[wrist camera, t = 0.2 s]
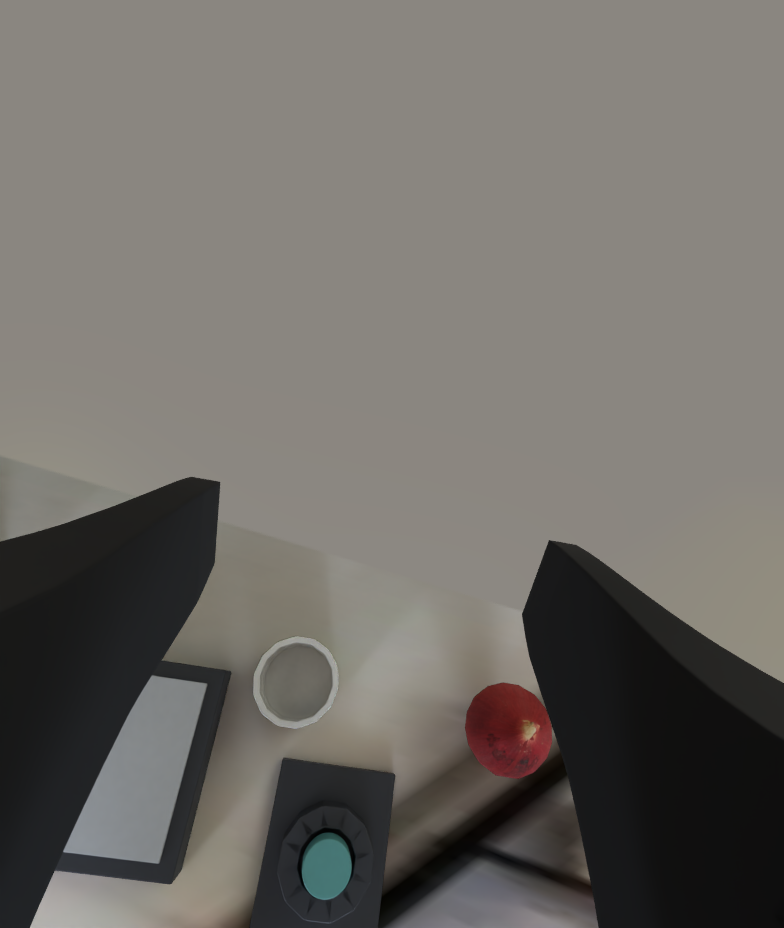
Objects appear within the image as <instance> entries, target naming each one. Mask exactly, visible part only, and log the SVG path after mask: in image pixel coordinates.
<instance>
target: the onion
mask: <svg viewBox="0 0 784 928" xmlns="http://www.w3.org/2000/svg"><path fill="white" fill-rule="evenodd" d="M465 730H466V735H467V740H468V745H469V746H470V748H471V750H472V751H473V753H474V755H475V757H476V758H477V760H478V761H479V762H480V763H481V764H482V765H483V766H484V767H486V768H487V769H488V770H490V771H491V772H492V773H493V774H495V775H497V776H503V777H509V778H517V779H519V778H521V777H523V776H526V775H528V774H531V773H533V772H535V771H536V770H537V769H538V768H539V766H540V765H541V764H542V763H543V762H544V761H545V759H546V758H547V756H548V753H549V750H550V747H551V744H552V730H551V723H550V720H549V717H548V713H547V710H546V709H545V707H544V706H543V705H542V703H541V702H540V701H539V700H538V698H537V697H536V696H535V695H534V694H532V693H531V692H529V691H527V690H526V689H524V688H522V687H521V686H519V685H514V684H508V683H499V684H495V685H491V686H487V687H486V688H485V689H484V690H482V691H481V692H480V693H479V694H478V695H476V696H475V697H474V698H473V700H472V703H471V705H470V707H469V709H468V711H467V715H466V724H465Z"/></svg>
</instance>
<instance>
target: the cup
mask: <svg viewBox="0 0 784 928" xmlns="http://www.w3.org/2000/svg"><path fill="white" fill-rule="evenodd" d="M338 688H339V679H338V666H337V664H336V662H335V660H334V658H333V656H332V654H331V652H330V650H329V649H328V648H326V647H325V646H323V645H322V644H321V643H319V642H318V641H317V640H315V639H312V638H306V637H300V636H294V637H291V638H288V639H285V640H281V641H278V642H277V643H276V644H275V645H273V646H272V647H271V648H270V649H269V650H268V651H267V652H266V653H264V654H263V656H262V657H261V660H260V662H259V664H258V666H257V668H256V670H255V673H254V683H253V695H254V698H255V700H256V703H257V705H258V707H259V709H260V712H261V713H262V715H264V716H265V717H266V718H267V719H269V720H270V721H271V722H273V723H274V724H275V725H277V726H280V727H287V728H294V729H298V728H301V727H304V726H307V725H309V724H312V723H315V722H317V721H318V720H319V719H320V718H321V717H322V716H323V715H324V714H325V713H326V712H327V711H328V710H329V709H330V708H331V706H332V704H333V701H334V698H335V696H336V693H337V691H338Z"/></svg>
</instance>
